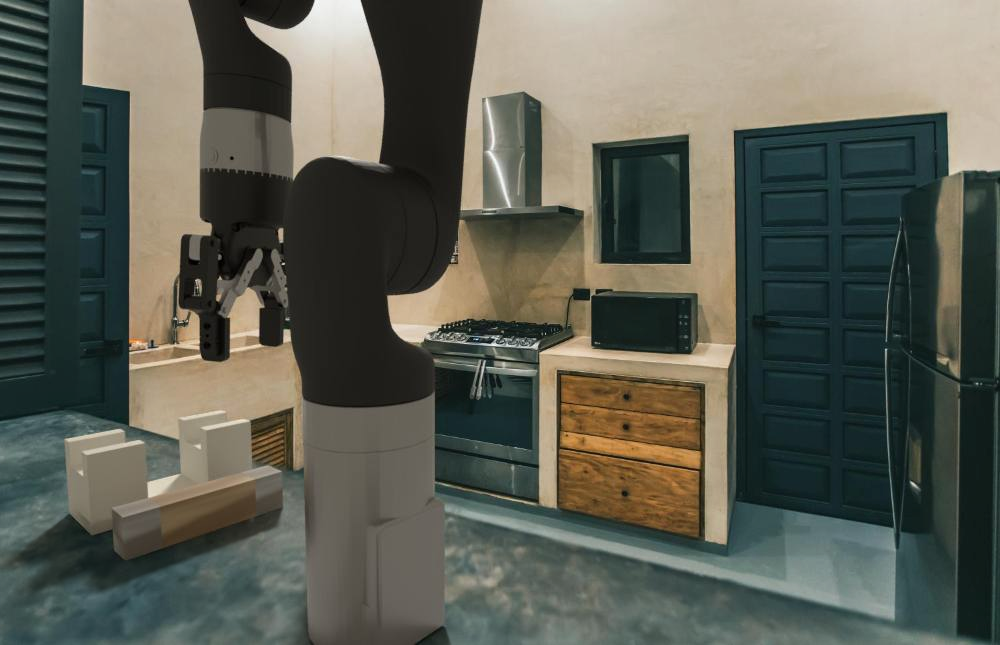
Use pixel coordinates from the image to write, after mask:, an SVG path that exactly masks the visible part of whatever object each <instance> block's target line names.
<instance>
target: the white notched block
mask: <svg viewBox="0 0 1000 645" xmlns="http://www.w3.org/2000/svg"><path fill="white" fill-rule="evenodd" d="M177 420H178V421H177V422H178V445H179V458H180V459H179V461H180V473H178V474H173V475H171V476H165V477H162V478H158V479H154V480H151V481H148V470H147V468H148V467H147V453H146V452H147V451H146V449H147V448H146V442H145V441H142V440H141V439H136V440H132V441H127V442H126V431H124V430H123V429H121V428H116V429H113V430H112V429H111V430H106V431H100V432H95V433H90V434H86V435H85V434H84V435H80V436H74V437H69V438H64V440H63V441H64V450H65V451H64V453H65V454H64V456H65V466H66V470H65V471H66V482H67V483H66V484H67V497H68V509H69V510H68V511H69V515H71V517H73V519H75V521H76V522H78V523H79V524H80V525H81V526H82V527H83V529H85V530H86V531H87V532H88V533H89V534H90V536H95V535H98V534H102V533H105V532H108V531H113V524H112V508H114V507H117V506H121V505H124V504H128V503H132V502H135V501H139V500H143V499H146V498H150V497H154V496H157V495H161V494H165V493H168V492H172V491H176V490H179V489H183V488H186V487H190V486H194V485H197V484H201V483H205V482H208V481H212V480H216V479H219V478H223V477H227V476H230V475H234V474H238V473H241V472H245V471H248V470H252V469H253V454H252V453H253V452H252V447H253V446H252V427H251V426H252V423H251V420H248V419H246V418H240V419H236V420H231V421H228V412H227V411H225V410H221V409H220V410H215V411H209V412H204V413H199V414H194V415H193V414H192V415H188V416H182V417H178V419H177Z"/></svg>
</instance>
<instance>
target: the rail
mask: <svg viewBox="0 0 1000 645" xmlns="http://www.w3.org/2000/svg"><path fill="white" fill-rule="evenodd" d="M283 493H284V491H283V471H282V470H280V469H277V468H276V467H273V466H271V465H269V464H267V465H264V466H260V467H256V468H252V470H248V471H245V472H241V473H238V474H234V475H230V476H227V477H223V478H219V479H216V480H212V481H208V482H205V483H201V484H197V485H194V486H190V487H186V488H183V489H179V490H176V491H172V492H168V493H165V494H161V495H157V496H154V497H150V498H146V499H143V500H139V501H135V502H132V503H128V504H124V505H121V506H117V507H114V508H112V524H113V529H112V537H113V539H112V540H113V550H114V551H115V553H116V554H118V556H120V557H121V558H122V559H123V560H124V561H125V562H126V561H129V560H132V559H135V558H138V557H140V556H143V555H144V556H145V555H147V554H150V553H152V552H156V551H158V550H162V549H164V548H167V547H170V546H172V545H173V546H174V545H176V544H179V543H182V542H184V541H188V540H191V539H194V538H197V537H200V536H203V535H205V534H208V533H211V532H214V531H217V530H220V529H223V528H227V527H229V526H231V525H235V524H237V523H241V522H243V521H246V520H250V519H252V518H255V517H258V516H261V515H265V514H267V513H270V512H273V511H277V510H279V509H282V508H284V494H283Z"/></svg>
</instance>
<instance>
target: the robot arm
mask: <svg viewBox="0 0 1000 645" xmlns="http://www.w3.org/2000/svg"><path fill="white" fill-rule="evenodd" d="M187 1H188V4H189V7H190V11H191V14H192V18H193V23H194V27H195V30H196V31H195V32H196V35H197V38H198V39H197V40H198V44H199V48H200V53H201V58H202V66H203V67H202V69H203V72H202V75H203V76H202V78H203V80H202V82H203V83H202V84H203V85H202V87H203V88H202V89H203V90H202V93H203V94H202V95H203V98H202V102H203V103H202V107H203V108H202V109H203V112H202V123H201V128H200V133H199V134H200V135H199V218H200V220H201V221H203V222H204V223H207V224H210V225H211V230H210V235H208V234H207V235H204V234H191V233H184V234H183V235H181V238H180V253H179V254H180V255H179V256H180V257H179V274H178V275H179V276H178V278H179V280H178V299H177V300H178V306H179V307H178V308H180V309H181V310H188V311H190V312H193V313H194V314H196V316H198V318H199V319H198V320H199V325H198V326H199V330H198V331H199V352H200V357H201V359H202V360H203V361H206V362H215V363H216V362H217V363H222V362H226V361H227V360H229V359H230V356H231V317H228V316H229V315H230V313H231V311H232V308H233V306H234V304H235V302H236V300H237V299H238V297H242V296H243V295H244V294H245V292H246V290H247V288H249V289H250V290H252V291H254V293H255V294H256V297H257V299H258V301H259V303H260V305H261V307H259V309H258V310H259V316H258V317H259V319H258V325H259V326H258V343H259V344H260V345H261V346H264V347H274V348H277V347H281V346H282V345H283V344H284V337H285V336H284V332H285V330H284V329H285V326H284V325H285V309H287V308H288V315H289V316H288V318H289V321H288V322H289V334H290V335H289V336H290V341H291V342H290V343H291V348H292V352H293V355H294V360H295V362H296V364H297V367H298V370H299V373H300V379H301V380H300V382H301V406H302V405H303V440H302V446H303V447H302V448H303V449H302V450H303V451H302V452H303V488H304V490H303V492H304V530H305V532H304V533H305V535H304V536H305V537H304V538H305V539H304V540H305V569H306V570H305V571H306V572H305V576H306V577H305V578H306V579H305V580H306V601H307V602H306V605H307V606H306V607H307V610H306V611H307V632H308V635H309V640H310V641H311V642H312V644H313V645H416V644H417V643H418V642H420V641H422V640H423V639H424V638H427V637H428V636H430V635H431V634H432V633H434V632H435V631H437V630H439V629H440V628H441V627H443V626H444V625H445V623H446V622H445V621H446V612H445V611H446V601H445V600H446V599H445V598H446V597H445V596H446V592H445V591H446V589H445V588H446V585H445V584H446V579H445V578H446V575H445V574H446V573H445V572H446V568H445V567H446V560H445V559H446V554H445V553H446V549H445V548H446V546H445V544H446V543H445V542H446V539H445V538H446V533H445V532H446V522H445V521H446V517H445V516H446V514H445V513H446V510H445V509H446V504H445V501H444V500H443V499H441V498H439V497H436V495H435V494H436V491H435V489H436V487H435V486H436V484H435V483H436V476H435V475H436V473H435V471H436V470H435V469H436V467H435V464H436V463H435V462H436V460H435V459H436V458H435V457H436V456H435V454H436V452H435V451H436V449H435V448H436V446H435V445H436V441H435V440H436V438H435V434H436V433H435V431H436V424H435V423H436V418H435V417H436V410H435V409H436V407H435V406H436V404H435V403H436V398H435V397H436V396H435V394H436V393H435V390H436V367H435V365H436V364H435V359H434V357H433V355H432V353H431V352H430V351H429V350H428V349H426V348H424V347H422V346H419V345H417V344H413V343H409V341H405V340H404V339H403V338H402V337H400V336H399V335H398V334H397V332H396V331H395V330H394V328H393V326H392V323H391V316H390V311H389V310H390V309H389V308H390V307H389V300H388V296H389V297H390V296H392V297H393V296H405V295H415V294H418V293H423V292H425V291H427V290H429V289H430V288H432V287H433V286H434V285H436V284H437V283H438V282H439V281H440V279H442V277H443V276H444V274H445V273H446V271H447V270H448V267H449V266H450V264H451V261H452V260H453V259H452V258H453V255H454V252H455V249H456V246H457V245H456V244H457V241H458V236H459V228H460V219H461V208H462V196H463V195H462V194H463V181H464V180H463V179H464V165H465V149H466V137H467V136H466V135H467V122H468V114H469V103H470V102H469V100H470V93H471V87H472V86H471V85H472V79H473V73H474V66H475V61H476V59H475V58H476V52H477V48H478V46H477V45H478V39H479V33H480V32H479V31H480V24H481V17H482V11H483V10H482V9H483V3H484V0H360V4H361V8H362V10H363V14H364V17H365V21H366V25H367V28H368V31H369V34H370V38H371V41H372V44H373V47H374V51H375V55H376V58H377V63H378V66H379V70H380V77H381V82H382V90H383V125H382V127H383V128H382V136H381V146H380V147H381V148H380V153H379V160H378V163H377V162H374V161H369V160H364V159H359V158H354V157H349V156H343V155H324V156H323V155H322V156H319V157H316V158H313V159H311V160H310V161H308V162H307V163H305V165H304V166H302V167H301V169H300V170H299V171H298V172H297V174H296V175H295V177H294V163H295V162H294V161H295V160H294V159H295V158H294V156H295V154H294V140H293V133H292V132H293V131H292V112H293V110H292V109H293V107H292V106H293V105H292V103H293V100H292V98H293V73H292V72H293V71H292V70H293V69H292V67H291V63H290V61H289V60H288V58H287V57H286V56H285V55H284V54H283V53H281V52H280V51H278V50H277V49H276V48H274V47H273V46H271V45H270V44H268V43H266V42H265V41H264V40H262V39H261V38H259V37H258V36H257V35H256V34H255V33H254V32H253V31H252V30H251V29H250V26H249V24H248V22H247V20H246V19H249V20H252V21H255V22H257V23H260V24H263V25H265V26H268V27H271V28H273V29H277V30H290V29H293V28H294V27H296V26H297V27H298V25H300V24H301V23H302V22H304V21H305V20H306V19H307V17H308V16H309V14H310V13H311V11H312V10H313V7H314V4H315V1H316V0H187ZM280 229H282V239H280V238H279V230H280ZM197 280H200V281H199V284H200V286H201V291H200V293H199V294H198V295H197V294H195V290H196V288H195V287H196V285H195V284H196V281H197ZM285 286H286V287H285ZM220 295H221V296H220ZM217 296H220V298H219V300H217Z"/></svg>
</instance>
